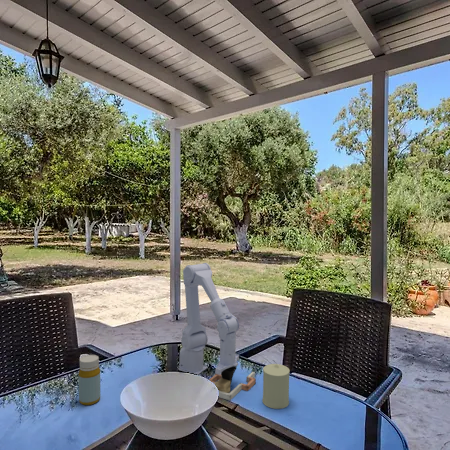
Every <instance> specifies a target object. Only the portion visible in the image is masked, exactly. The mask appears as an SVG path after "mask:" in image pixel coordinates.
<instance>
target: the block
mask: <svg viewBox="0 0 450 450" xmlns="http://www.w3.org/2000/svg"><path fill="white" fill-rule="evenodd" d="M215 382H216V383H215V385H216V387H217V388H218V390H219V391H222V392H225V393H230V392H231V385H230V381H229V380H226V379H223V378H220V379H219V380H216V381H215Z"/></svg>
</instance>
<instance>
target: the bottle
mask: <svg viewBox="0 0 450 450" xmlns="http://www.w3.org/2000/svg"><path fill="white" fill-rule="evenodd" d="M99 359H100V358H99V355H96V354H87V355H83V356H82V357H80V359H79V371H78V402H79V404H81V405H83V406H92V405H95V404H97V403H98V402H99V401H100V399H101V369H100V364H99V363H100V360H99Z"/></svg>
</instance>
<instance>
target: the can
mask: <svg viewBox="0 0 450 450" xmlns="http://www.w3.org/2000/svg"><path fill="white" fill-rule="evenodd" d="M262 371H263V372H262V374H263V375H262V377H263V378H262V381H263V382H262V403H263V405H264V406H266V407H268V408H270V409H274V410H275V409H276V410H280V409H285V408H287V407H288V406H289V405H290V399H289V398H290V397H289V396H290V371H291V370H290V368H289V367H287V366H286V365H283V364H280V363H279V364H278V363H270V364H266V365H265V366H264V367H263V368H262Z"/></svg>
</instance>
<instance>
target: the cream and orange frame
mask: <svg viewBox="0 0 450 450" xmlns="http://www.w3.org/2000/svg"><path fill="white" fill-rule="evenodd" d="M255 375H256V372H255V371H252V372H251V373H250V374H248V375H247V376H246V380H245V381H246V383H243V382H239V384H238V385H236V387H235V388H233V389H232V390H230V392H229V393H225V392H222V391H219V397H218V398H220V399H224V400H227V401H231V400H232V399H234V397H236V396H237V395H238V393H240V392H241V391H242V390H243V391H246V392H248V391H249V390H251V388H253V386H254V385H256V383H257V382H256V381H257V378H256V376H255ZM220 378H222V375H218V374H214V375H213V376H212V377H210V378H209V379H208V380H210V381H211V382H213V383H214V384H215V383H216V382H217V381H218V380H219V379H220Z"/></svg>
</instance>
